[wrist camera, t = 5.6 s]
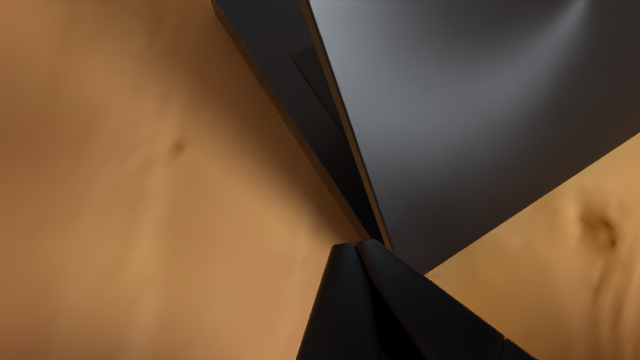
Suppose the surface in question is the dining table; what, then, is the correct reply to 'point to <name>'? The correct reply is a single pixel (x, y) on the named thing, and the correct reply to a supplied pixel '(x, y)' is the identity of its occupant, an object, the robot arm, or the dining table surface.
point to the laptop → (300, 95)
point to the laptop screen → (474, 105)
